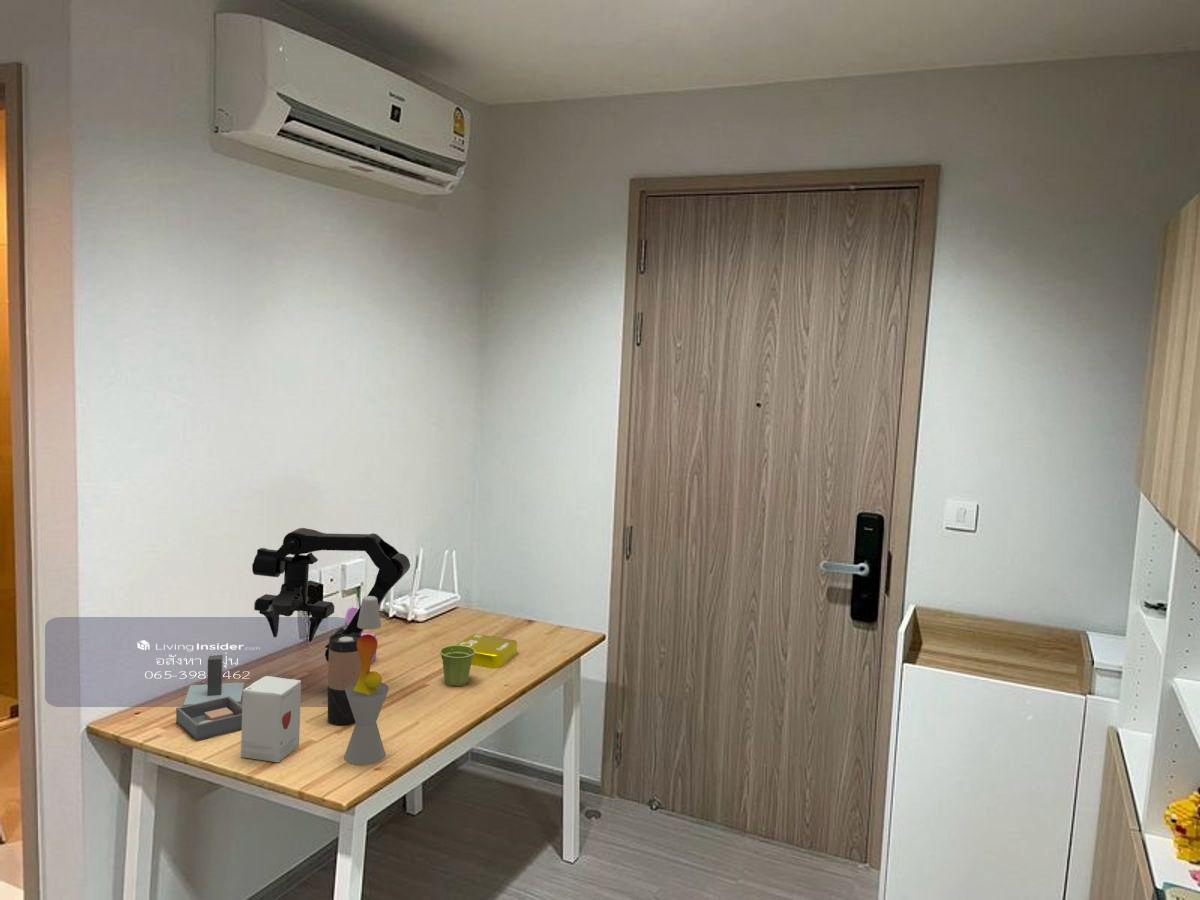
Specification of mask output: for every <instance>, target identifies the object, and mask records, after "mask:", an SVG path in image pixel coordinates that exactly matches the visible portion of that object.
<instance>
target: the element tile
mask: <svg viewBox="0 0 1200 900" xmlns="http://www.w3.org/2000/svg"><path fill="white" fill-rule="evenodd" d="M455 645H463V646H469V647H472V648H474V649H475V651H476V652H475V654H474V656H473V659H472V662H471V666H474V667H475V666H477V667H481V668H482V667H483V668H486V669H501V668H502V667H504V666H505V665H506V664H508V663H509V662H510V661H511V660H512V659H514V658H516V656H517V653H518V641H517V640H515V639H510V638H504V637H497V636H490V635H485V634H478V633H473V634H471V635H469V636H468V637H466V638H463V640H461V641H460V642H458V643H456V644H455Z"/></svg>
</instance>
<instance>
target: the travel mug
mask: <svg viewBox="0 0 1200 900" xmlns="http://www.w3.org/2000/svg"><path fill="white" fill-rule="evenodd" d="M333 634H334V633H333ZM333 634H332V635H330V636H329V639H328V642H329V643H328V644H329V662H327V663H328V664H327V665H328V666H327V667H328V668H327V669H328V670H327V721H328V723H329V724H330V725H331V726H332V725H333V726H341V727H342V726H351V725H355V724H356V722H355V719H354V716H353V713H352V710H351V707H350V704H349V701H348V698H347V695H346V692H345V689H346V687H347V686H349V685H351V684H353V683H357V682H358V679H359V676H360V671H361V661H360V656H359V653H358V649H357V641H358V639H359V638H360V637H361V635H360V634H357V633H351V634H349V635H344V634H342V633H337V634H334V635H333Z"/></svg>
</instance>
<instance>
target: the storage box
mask: <svg viewBox="0 0 1200 900" xmlns="http://www.w3.org/2000/svg"><path fill="white" fill-rule="evenodd" d="M175 713H176V714H175V718H176V719H175V722H176V724H177V725H178V726H179V727H180V728H181V729H182V730H184V731H185V732H186V734H187V735H189V736H190V737H191V738H192V737H193V738H192V739H193V740H194V741H196V742H198V741H203V740H208V739H211V738H215V737H218V736H224V735H226V734H229V733H235V732H237V731H242V704H239V703H238V702H236V701H235V700H234V699H232V698H231V697H230V696H228V697H223V698H219V699H215V700H210V701H206V702H201V703H197V704H193V705H188V706H184V707H183V706H180V707H176V711H175Z"/></svg>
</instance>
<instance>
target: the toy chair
mask: <svg viewBox="0 0 1200 900" xmlns="http://www.w3.org/2000/svg"><path fill="white" fill-rule="evenodd" d="M358 609H359V608H358V607H350V608H348V609H347V610H346V613H345V617H344V624H345V626H346V628H347V627H348V625H349V623H350V622H351V620H352V619H353V617H354V616H355V614H356V613H357V611H358ZM366 634H369V635H372V636H374V637H375V638H376V640H377V641H378V638H377V634H376V633H368V632H367V633H366V632H362V634H361V636H363V635H366ZM376 660H377V649H376V651H375V653H374V655H373V658H372V661H371V664H372V663H374V662H375V661H376Z"/></svg>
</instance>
